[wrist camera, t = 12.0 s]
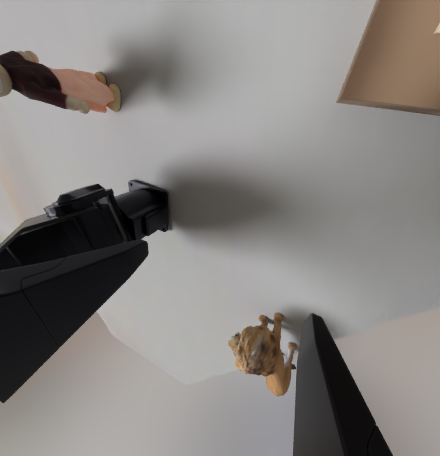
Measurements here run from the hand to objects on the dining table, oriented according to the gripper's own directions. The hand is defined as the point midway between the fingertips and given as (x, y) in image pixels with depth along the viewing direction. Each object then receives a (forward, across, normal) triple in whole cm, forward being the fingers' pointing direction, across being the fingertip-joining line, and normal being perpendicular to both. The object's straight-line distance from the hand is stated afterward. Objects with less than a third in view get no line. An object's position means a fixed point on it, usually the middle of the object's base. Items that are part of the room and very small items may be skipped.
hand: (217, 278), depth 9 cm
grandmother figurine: (+13, +21, -7) cm, 26 cm away
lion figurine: (+13, -7, +20) cm, 25 cm away
